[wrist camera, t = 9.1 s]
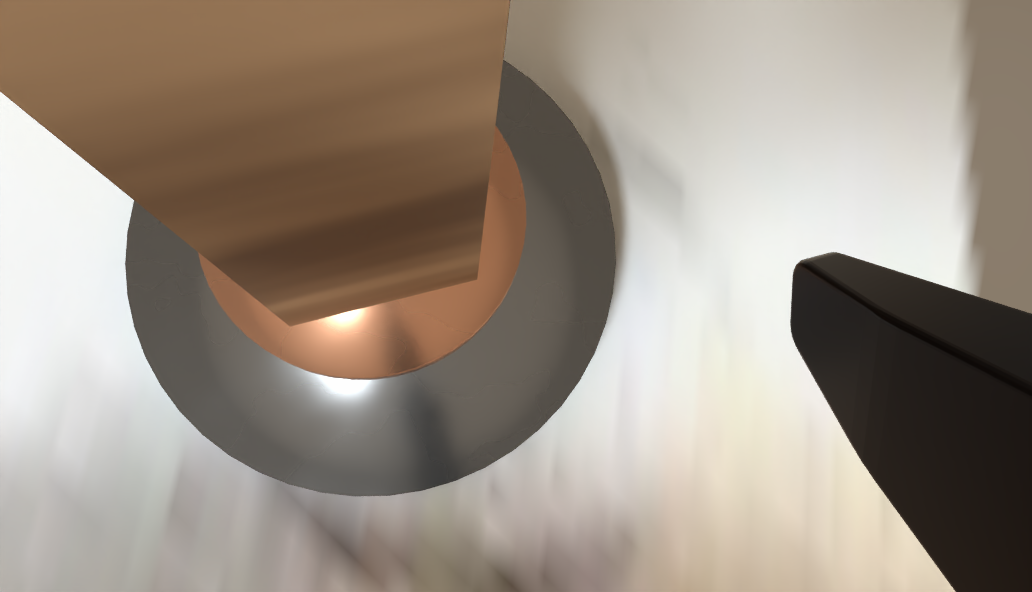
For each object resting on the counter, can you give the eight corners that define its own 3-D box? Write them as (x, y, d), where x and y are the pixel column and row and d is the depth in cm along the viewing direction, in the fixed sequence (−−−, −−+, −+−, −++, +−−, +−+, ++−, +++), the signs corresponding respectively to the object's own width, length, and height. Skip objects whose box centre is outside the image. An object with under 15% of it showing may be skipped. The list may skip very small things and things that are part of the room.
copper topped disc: (639, 89, 24) (676, 15, 20) (568, 534, 21) (593, 550, 17) (206, 3, 23) (155, -90, 19) (83, 446, 21) (-3, 443, 17)
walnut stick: (477, 279, 18) (526, -144, 5) (289, 326, 18) (-134, -17, 5) (430, 107, 19) (379, -631, 6) (249, 148, 18) (-216, -558, 6)
